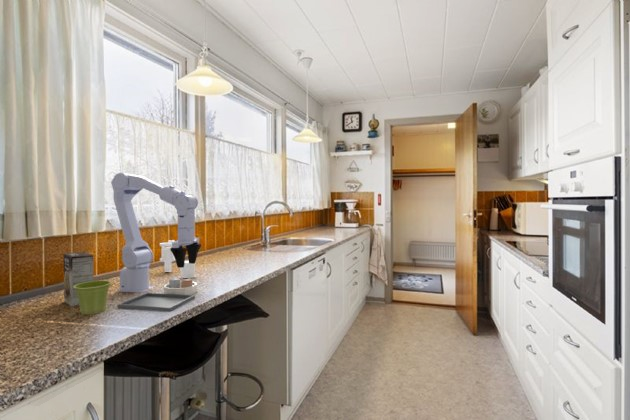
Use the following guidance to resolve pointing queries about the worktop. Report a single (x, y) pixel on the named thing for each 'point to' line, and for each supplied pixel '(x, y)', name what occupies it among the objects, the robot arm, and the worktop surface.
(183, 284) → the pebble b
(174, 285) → the grey rounded cylinder
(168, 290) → the bowl
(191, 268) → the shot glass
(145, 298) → the tray
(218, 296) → the worktop surface
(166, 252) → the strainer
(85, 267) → the coffee box
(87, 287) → the plant pot
